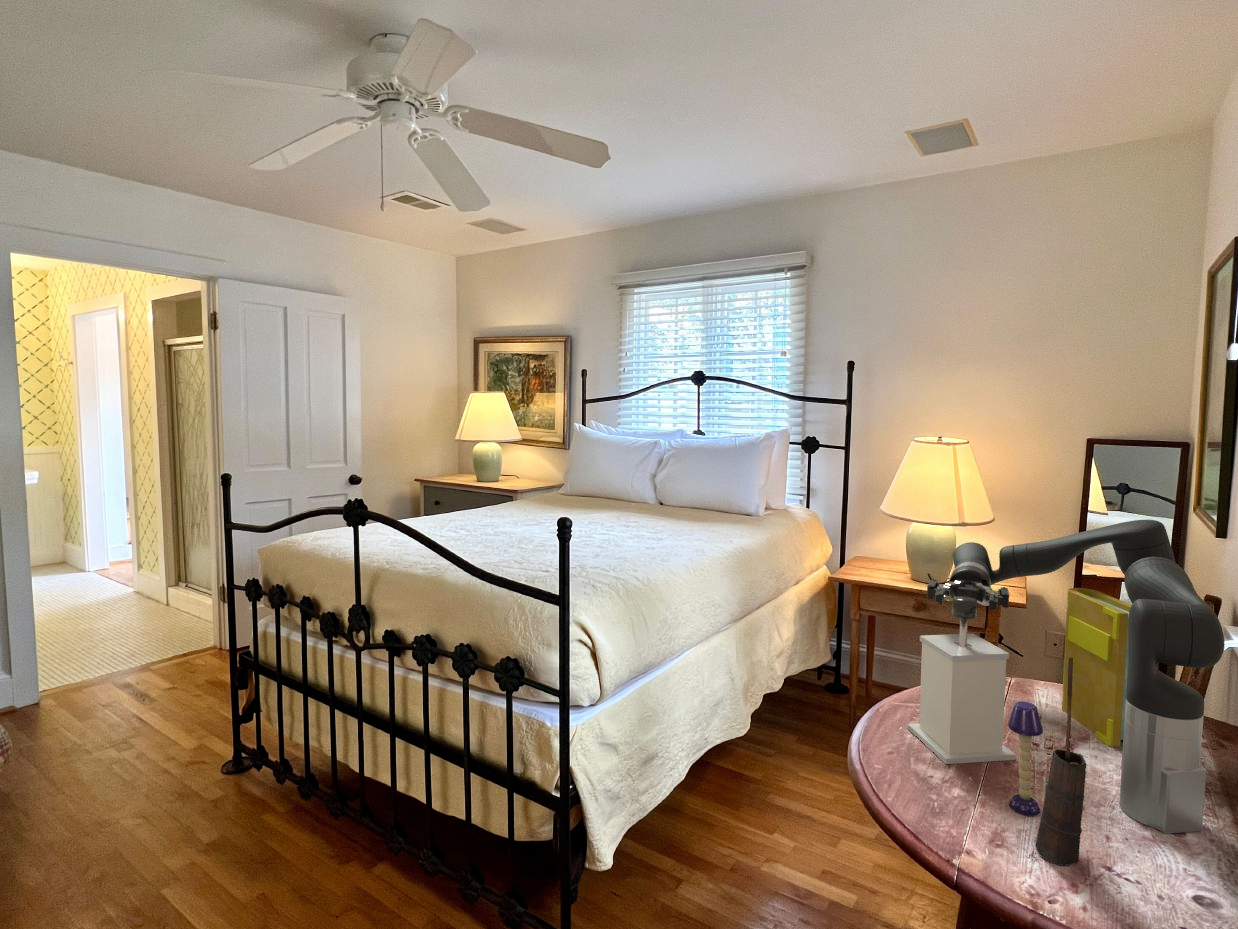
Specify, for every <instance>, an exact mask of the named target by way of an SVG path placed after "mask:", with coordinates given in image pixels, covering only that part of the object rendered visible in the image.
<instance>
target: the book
mask: <svg viewBox="0 0 1238 929" xmlns="http://www.w3.org/2000/svg"><path fill="white" fill-rule="evenodd" d="M1066 601H1067V602H1066V617H1065V618H1066V620H1065V635H1064V636H1065V638H1064V655H1063V672H1062V674H1063V675H1062V691H1061V692H1062V693H1061V711H1062V712H1063V713H1065V714H1066V715H1067V698H1068V697H1067V691H1068V661H1069V658H1070V657H1072V658H1073V673H1072V700H1071V719H1073V720H1074V721H1076V722H1077V723H1079V724H1080V725H1082V726H1083V727H1085V728H1086V729H1087V730H1089V731H1090V732H1092V733H1093V734H1095V738H1097V739H1099V740H1100V741H1101V742H1103V744H1105V745H1106V746H1109V747H1121V741H1123V736H1124V720H1125V706H1126V690H1127V676H1128V617H1129V611H1130V608H1131V605H1132V603H1129V602H1126V601H1123V600H1121V599H1119V598H1116V597H1113V596H1111V595H1108V594H1106V593H1105V592H1102V591H1099V590H1096V589H1089V588H1083V587H1071V588H1068V589H1067V599H1066Z"/></svg>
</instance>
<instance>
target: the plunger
mask: <svg viewBox="0 0 1238 929" xmlns="http://www.w3.org/2000/svg"><path fill="white" fill-rule="evenodd" d="M951 604H952V606H951V615H952V616H953V617H956V618H959V634H960V638H959V646H960V647H967V634H968V623H969V620H971V619H977V615H978V614H977V610H978V609H977V608H978V605H977V600H976V599H974V598H970V597H964V596H956V597H953V598H952V601H951Z"/></svg>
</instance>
